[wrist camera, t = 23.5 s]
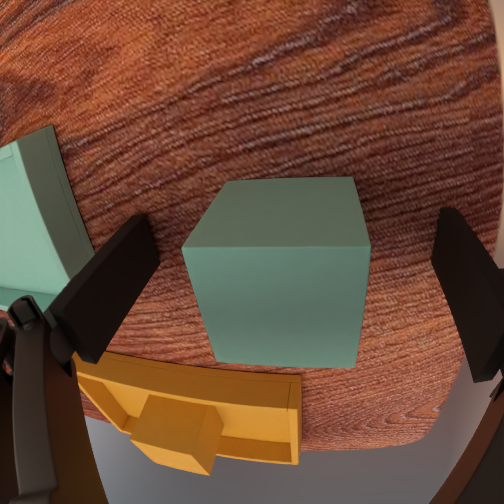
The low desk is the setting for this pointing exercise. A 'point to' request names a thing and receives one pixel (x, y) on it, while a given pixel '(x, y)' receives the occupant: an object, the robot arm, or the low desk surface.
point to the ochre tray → (204, 401)
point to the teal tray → (38, 222)
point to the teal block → (282, 272)
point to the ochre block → (179, 433)
